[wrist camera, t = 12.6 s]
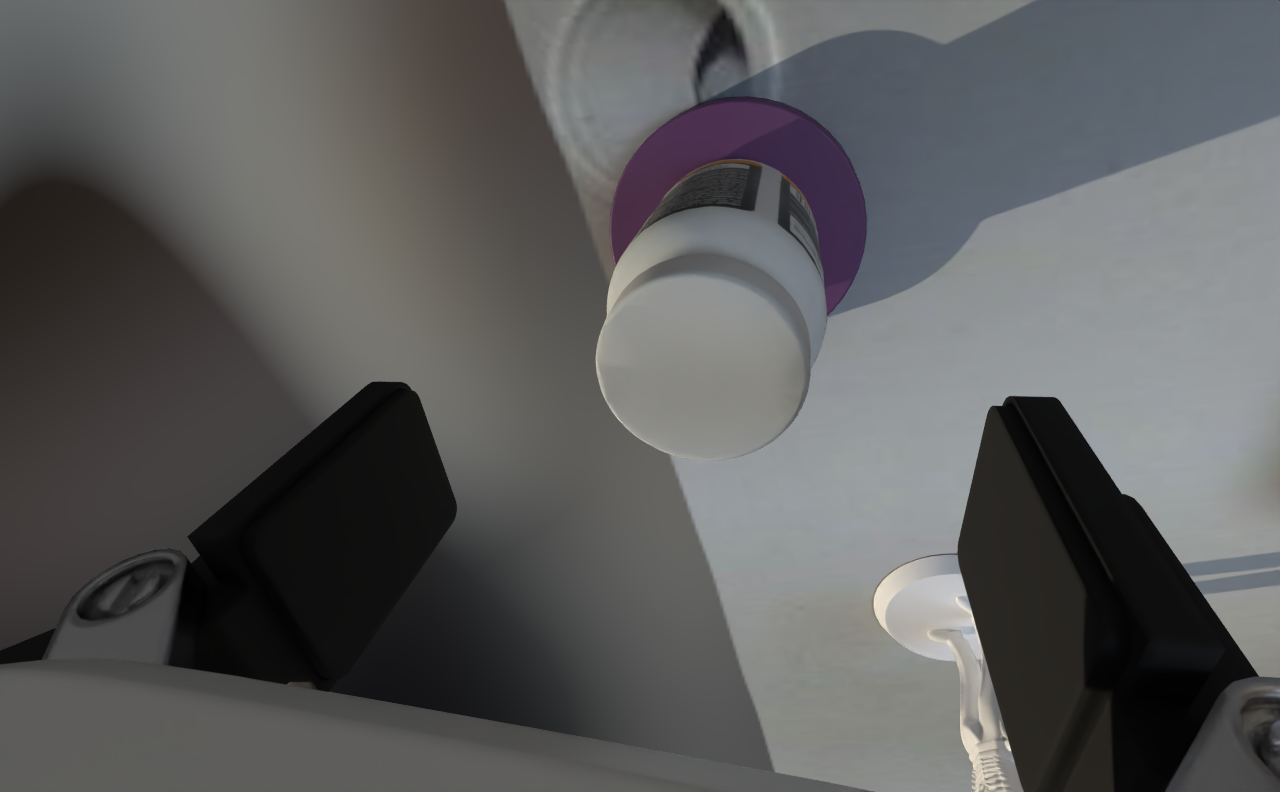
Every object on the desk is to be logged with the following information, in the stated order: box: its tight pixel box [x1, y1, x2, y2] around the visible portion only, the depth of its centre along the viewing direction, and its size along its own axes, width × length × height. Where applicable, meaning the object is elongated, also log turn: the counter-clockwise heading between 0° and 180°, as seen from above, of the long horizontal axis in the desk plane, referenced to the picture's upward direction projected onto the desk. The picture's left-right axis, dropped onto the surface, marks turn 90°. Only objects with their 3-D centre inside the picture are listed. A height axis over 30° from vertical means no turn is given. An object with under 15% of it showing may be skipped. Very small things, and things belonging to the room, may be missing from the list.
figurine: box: [873, 555, 1024, 792], centre depth 24 cm, size 7×7×12 cm
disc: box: [610, 97, 867, 316], centre depth 22 cm, size 9×9×1 cm
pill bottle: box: [596, 159, 827, 460], centre depth 17 cm, size 6×6×10 cm
